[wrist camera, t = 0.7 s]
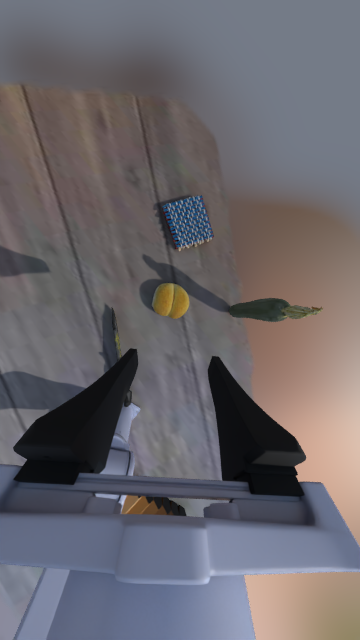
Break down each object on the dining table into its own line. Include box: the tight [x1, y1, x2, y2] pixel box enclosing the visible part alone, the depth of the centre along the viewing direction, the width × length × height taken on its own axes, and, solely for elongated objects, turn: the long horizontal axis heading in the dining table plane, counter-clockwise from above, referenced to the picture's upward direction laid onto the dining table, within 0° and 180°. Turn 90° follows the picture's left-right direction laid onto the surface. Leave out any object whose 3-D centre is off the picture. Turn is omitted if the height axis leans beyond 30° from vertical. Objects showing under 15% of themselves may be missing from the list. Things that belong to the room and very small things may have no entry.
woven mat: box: [162, 195, 214, 251], centre depth 31 cm, size 10×11×2 cm
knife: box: [112, 308, 132, 407], centre depth 30 cm, size 23×2×5 cm, turn 6°
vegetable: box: [229, 298, 323, 322], centre depth 27 cm, size 4×4×20 cm
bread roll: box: [152, 283, 189, 319], centre depth 31 cm, size 8×9×4 cm
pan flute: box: [121, 495, 186, 516], centre depth 35 cm, size 25×3×25 cm
